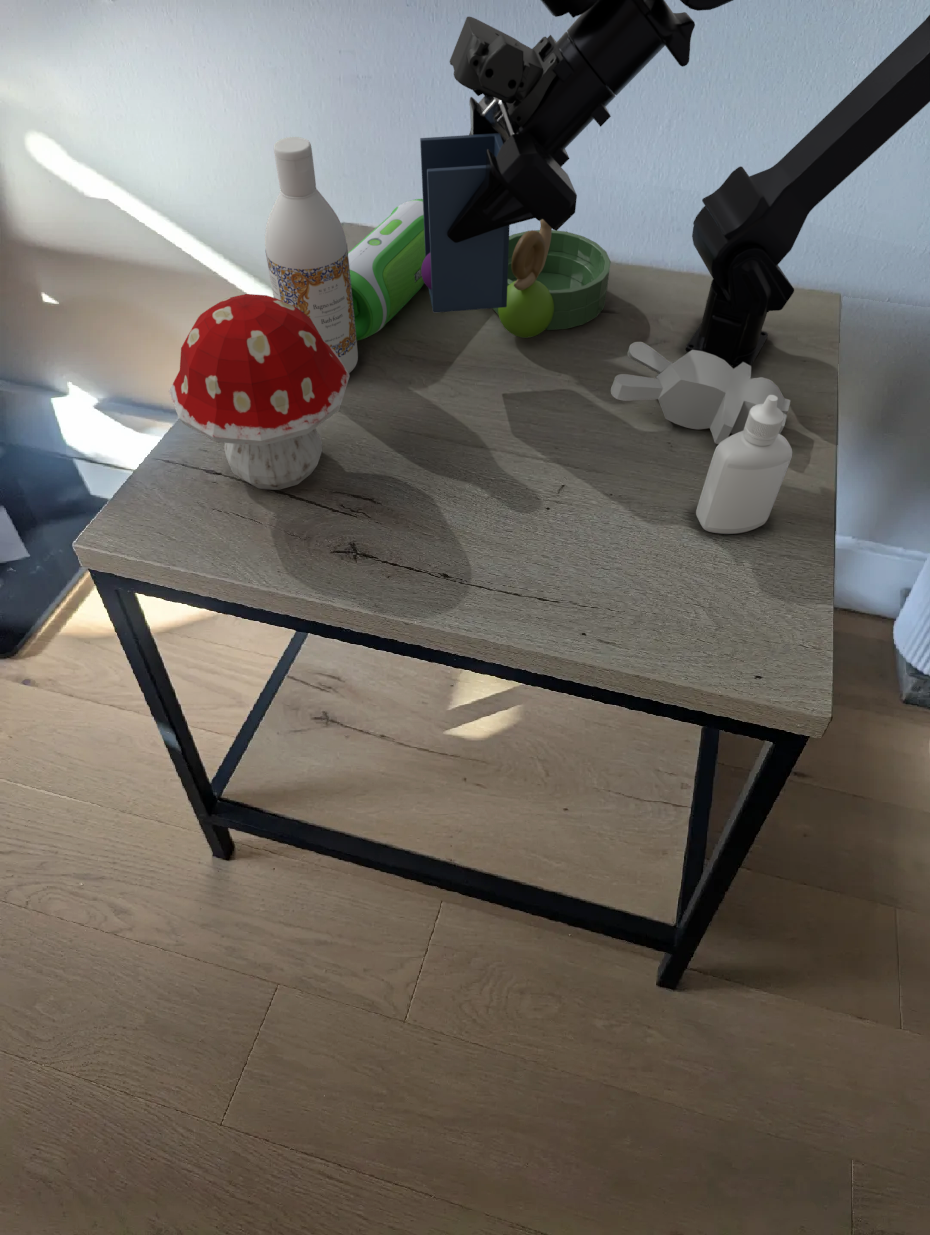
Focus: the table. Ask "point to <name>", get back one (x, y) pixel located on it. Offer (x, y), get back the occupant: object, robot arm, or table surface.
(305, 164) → the bath foam
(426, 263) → the ball
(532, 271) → the snail figurine
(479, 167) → the dark blue rectangular box
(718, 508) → the eye dropper bottle
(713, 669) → the table surface
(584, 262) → the bowl
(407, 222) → the speaker
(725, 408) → the bunny figurine
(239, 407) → the decorative mushroom
